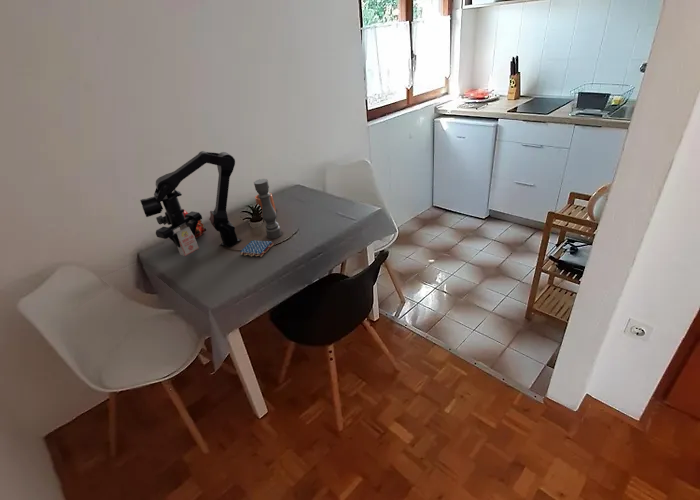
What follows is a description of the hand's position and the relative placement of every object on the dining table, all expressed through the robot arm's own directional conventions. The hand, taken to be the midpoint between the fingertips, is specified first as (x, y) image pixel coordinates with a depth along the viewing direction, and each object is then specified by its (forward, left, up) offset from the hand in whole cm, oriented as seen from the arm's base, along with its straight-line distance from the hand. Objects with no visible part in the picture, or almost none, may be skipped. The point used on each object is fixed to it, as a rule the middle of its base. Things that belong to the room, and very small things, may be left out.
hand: (186, 242), depth 171 cm
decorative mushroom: (+16, -11, +1) cm, 19 cm away
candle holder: (-23, -27, -7) cm, 36 cm away
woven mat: (-25, -14, -7) cm, 29 cm away
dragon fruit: (+14, -15, -7) cm, 22 cm away
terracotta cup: (-3, -45, -7) cm, 46 cm away
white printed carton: (0, 0, -4) cm, 4 cm away
